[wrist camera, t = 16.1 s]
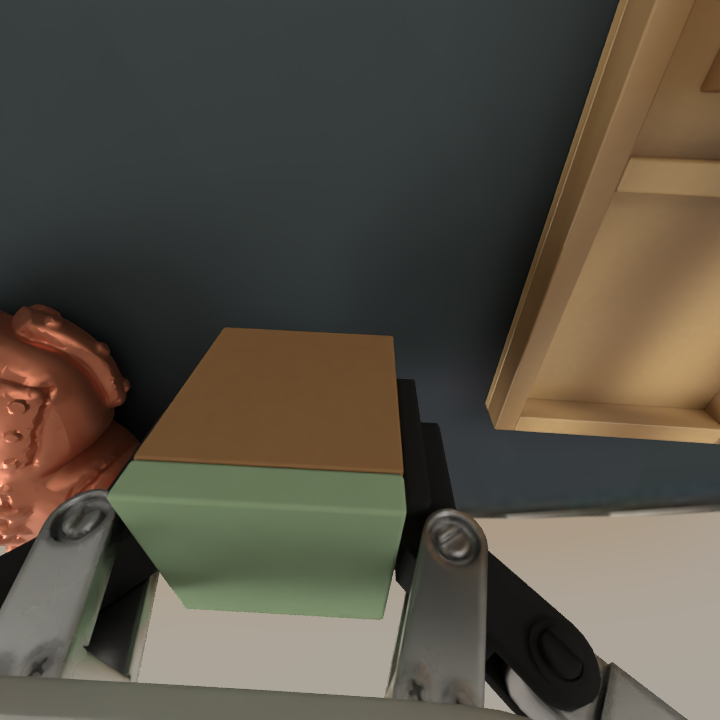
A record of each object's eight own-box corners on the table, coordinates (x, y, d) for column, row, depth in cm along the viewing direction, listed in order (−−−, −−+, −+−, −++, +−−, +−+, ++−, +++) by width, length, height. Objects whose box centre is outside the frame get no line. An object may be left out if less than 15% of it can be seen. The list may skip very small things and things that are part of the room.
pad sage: (249, 439, 13) (184, 610, 8) (223, 326, 10) (102, 498, 6) (380, 446, 13) (383, 621, 8) (392, 334, 10) (407, 514, 5)
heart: (-99, 595, 15) (230, 598, 14) (-426, 361, 9) (107, 342, 8) (22, 485, 20) (268, 483, 19) (-136, 290, 14) (210, 274, 13)
